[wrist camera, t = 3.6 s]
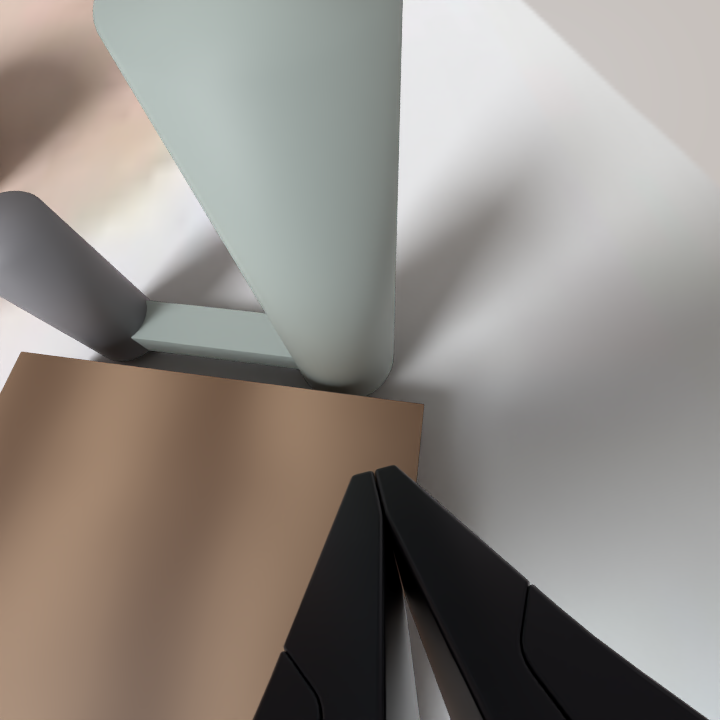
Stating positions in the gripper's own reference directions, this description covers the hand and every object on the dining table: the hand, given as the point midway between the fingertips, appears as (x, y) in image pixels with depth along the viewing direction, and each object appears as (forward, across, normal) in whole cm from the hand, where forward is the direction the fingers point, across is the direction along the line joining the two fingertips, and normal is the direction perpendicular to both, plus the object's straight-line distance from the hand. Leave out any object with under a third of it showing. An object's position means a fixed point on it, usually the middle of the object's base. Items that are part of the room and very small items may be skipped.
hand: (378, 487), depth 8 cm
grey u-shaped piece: (+9, +4, -1) cm, 10 cm away
